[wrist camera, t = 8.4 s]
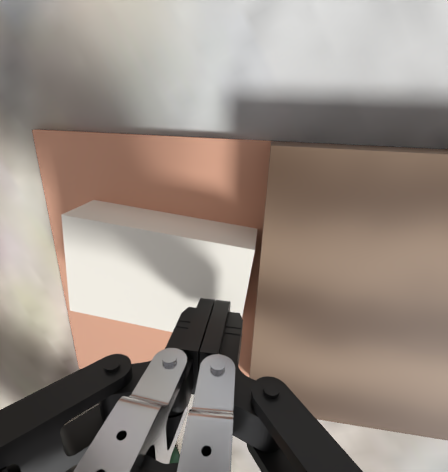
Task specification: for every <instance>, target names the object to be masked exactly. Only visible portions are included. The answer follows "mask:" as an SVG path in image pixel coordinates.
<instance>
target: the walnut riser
mask: <svg viewBox="0 0 448 472" xmlns="http://www.w3.org/2000/svg"><path fill="white" fill-rule="evenodd" d="M265 376H270V377H275V378H277V379H279V380H281V381H282V382H284V383H285V384H286V385H287V386H288V388H289V389H290V390H291V391H292V392H293V393H294V394H295V396H296V397H297V398H298V399H299V400H300V401H301V402H302V403H303V405H304V406H305V407H306V408H307V409H308V410H309V411H310V413H311V414H312V415H313V416H314V417H315V418H316V419H319V420H325V421H331V422H337V423H344V424H350V425H356V426H362V427H368V428H374V429H381V430H387V431H393V432H399V433H405V434H412V435H418V436H424V437H430V438H436V439H443V440H448V149H429V148H408V147H388V146H367V145H346V144H326V143H305V142H284V141H271V147H270V158H269V169H268V180H267V190H266V201H265V212H264V223H263V234H262V245H261V255H260V266H259V277H258V288H257V299H256V310H255V321H254V331H253V342H252V353H251V364H250V375H249V378H251V379H254V380H257V379H259V378H261V377H265Z"/></svg>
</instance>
